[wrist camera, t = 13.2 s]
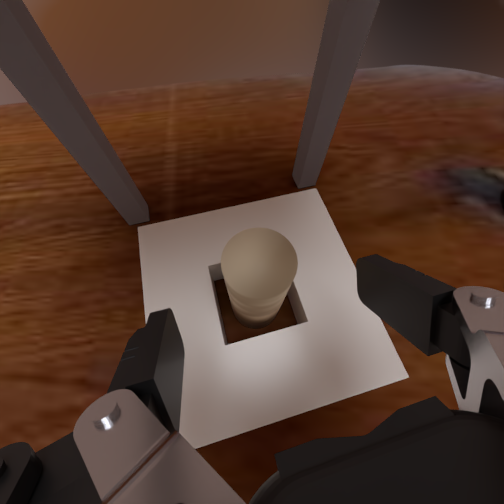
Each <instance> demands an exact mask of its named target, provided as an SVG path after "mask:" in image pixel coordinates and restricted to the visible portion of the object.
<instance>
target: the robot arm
mask: <svg viewBox="0 0 504 504" xmlns="http://www.w3.org/2000/svg"><path fill="white" fill-rule="evenodd" d="M356 272H357V293H358V296H359V298H360V300H361V302H362V303H363V304H364V305H365V306H366V307H368V308H369V309H370V310H371V311H372V312H374V313H375V314H376V315H377V316H379V317H380V318H381V319H382V320H384V321H385V322H386V323H387V324H389V325H390V326H391V327H392V328H394V329H395V330H396V331H397V332H399V333H400V334H401V335H402V336H404V337H405V338H406V339H407V340H408V341H410V342H411V343H412V344H413V345H415V346H416V347H417V348H418V349H420V350H421V351H422V352H423V353H425V354H426V355H427V356H430V355H433V354H436V353H439V352H442V351H443V352H445V353H446V360H445V361H446V366H447V369H448V373H449V376H450V379H451V383H452V386H453V389H454V393H455V396H456V400H457V403H458V406H459V410H449V409H448V408H447V407H446V406H445V405H444V404H443V403H442V402H441V401H440V400H439V399H438V398H437V397H436V396H434V397H431V398H428V399H426V400H423V401H420V402H417V403H415V404H412V405H409V406H406V407H403V408H401V409H398V410H397V411H396V412H395V413H393V414H392V415H391V416H390V417H388V418H387V419H386V420H385V421H384V422H382V423H381V424H380V425H379V426H378V427H376V428H375V429H374V430H373V431H371V432H370V433H369V434H367V435H364V436H354V437H338V438H322V439H315V440H312V441H309V442H307V443H304V444H301V445H298V446H296V447H293V448H290V449H287V450H284V451H282V452H279V453H276V454H274V455H275V459H276V463H277V468H278V471H277V472H276V473H274V474H273V475H272V476H271V477H269V478H268V479H267V481H266V482H265V483H264V484H263V485H262V486H261V487H260V488H259V489H258V491H257V492H256V493H255V495H254V496H253V497H252V499H251V500H250V502H249V504H504V293H503V292H501V291H498V290H495V289H491V288H486V287H478V286H466V287H461V288H458V289H456V288H454V287H452V286H450V285H447V284H445V283H443V282H441V281H439V280H436V279H434V278H432V277H430V276H428V275H426V276H425V274H423V273H421V272H419V271H415V269H412V268H410V267H408V266H406V265H403V264H398V263H394V262H392V261H390V260H388V259H386V258H384V257H382V256H379V255H377V254H374V255H370V256H367V257H363V258H359V259H358V260H357V263H356ZM184 358H185V351H184V345H183V340H182V337H181V334H180V331H179V329H178V326H177V323H176V320H175V317H174V314H173V311H172V309H171V308H167V309H163V310H159V311H155V312H151V313H150V314H149V317H148V320H147V323H146V326H145V328H141V329H138V330H137V331H136V332H135V333H134V334H133V336H132V337H131V338H130V339H129V341H128V343H127V345H126V348H125V352H124V353H123V355H122V358H121V361H120V362H119V365H118V367H117V370H116V372H115V375H114V377H113V379H112V382H111V384H110V387H109V389H108V392H107V394H106V395H104V396H102V397H100V398H99V399H97V400H96V401H95V402H94V403H92V404H91V405H90V406H89V407H88V408H87V409H86V410H85V411H84V412H83V413H82V415H81V416H80V417H79V419H78V421H77V423H76V425H75V427H74V431H73V432H72V433H70V434H68V435H66V436H65V437H63V438H61V439H59V440H58V441H56V442H54V443H52V444H50V445H49V446H47V447H45V448H43V449H41V450H40V451H38V452H36V453H35V452H34V450H33V449H32V448H31V446H30V445H29V444H28V443H25V442H18V443H14V444H10V445H8V446H5V447H3V448H1V449H0V504H246V503H245V502H244V501H243V500H242V499H241V498H240V497H239V496H238V495H237V494H236V492H235V491H234V490H233V489H232V488H231V487H230V486H229V485H228V484H227V483H226V482H225V481H224V480H223V479H222V478H221V477H220V475H219V474H218V473H217V472H216V471H215V470H214V469H213V468H212V467H211V466H210V465H209V464H208V463H207V462H206V461H205V460H204V458H203V457H202V456H201V455H200V454H199V453H198V452H197V451H196V450H195V449H194V448H193V447H192V446H191V445H190V444H189V443H188V441H187V440H186V439H185V438H184V437H183V436H182V435H181V434H180V433H179V427H180V413H181V399H182V386H183V372H184Z"/></svg>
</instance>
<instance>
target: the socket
mask: <svg viewBox="0 0 504 504" xmlns="http://www.w3.org/2000/svg"><path fill="white" fill-rule="evenodd" d="M250 228H268V229H271V230H274V231H276V232H278V233H280V234H282V235H283V236H284V237H286V238H287V239H288V240H289V241H290V243H291V244H292V246H293V247H294V249H295V251H296V254H297V259H298V268H297V273H296V275H295V278H294V280H293V282H292V284H291V286H290V288H289V290H288V292H287V295H288V298H289V301H290V304H291V307H292V309H293V312H294V315H295V318H296V321H297V324H298V325H295V326H291V327H288V328H284V329H281V330H277V331H274V332H270V333H267V334H263V335H260V336H256V337H253V338H249V339H246V340H242V341H239V342H235V343H232V344H229V345H228V343H227V339H226V334H225V330H224V325H223V320H222V316H221V311H220V307H219V302H218V297H217V293H216V288H215V284H214V281H216V280H220V279H224V276H223V273H222V269H221V256H222V252H223V249H224V247H225V246H226V244H227V243H228V241H229V240H230V239H231V238H232V237H233V236H235V235H236V234H237V233H239V232H241V231H243V230H246V229H250ZM138 238H139V250H140V261H141V273H142V285H143V296H144V308H145V320H146V323H147V320H148V317H149V314H150V313H151V312H155V311H159V310H163V309H167V308H171V309H172V311H173V314H174V317H175V320H176V323H177V326H178V329H179V331H180V334H181V337H182V340H183V345H184V351H185V358H184V372H183V386H182V399H181V413H180V427H179V433H180V434H181V435H182V436H183V437H184V438H185V439H186V440H187V441H188V443H189V444H190V445H191V446H192V447H193V448H194V449H197V448H200V447H203V446H206V445H209V444H211V443H214V442H217V441H220V440H223V439H226V438H229V437H232V436H235V435H238V434H241V433H244V432H247V431H250V430H253V429H256V428H259V427H262V426H265V425H268V424H271V423H274V422H277V421H280V420H283V419H286V418H289V417H292V416H295V415H298V414H301V413H304V412H307V411H310V410H313V409H316V408H319V407H322V406H325V405H328V404H331V403H334V402H337V401H340V400H343V399H346V398H349V397H352V396H355V395H358V394H361V393H364V392H367V391H370V390H373V389H376V388H379V387H382V386H385V385H388V384H391V383H394V382H397V381H400V380H403V379H406V378H408V377H409V376H408V374H407V372H406V370H405V368H404V366H403V364H402V362H401V360H400V358H399V356H398V354H397V352H396V350H395V348H394V346H393V344H392V341H391V339H390V337H389V335H388V333H387V331H386V329H385V327H384V325H383V323H382V321H381V319H380V317H379V316H377V315H376V314H375V313H374V312H372V311H371V310H370V309H369V308H368V307H366V306H365V305H364V304H363V303H362V302H361V300H360V298H359V296H358V293H357V272H356V268H355V266H354V264H353V262H352V260H351V258H350V256H349V254H348V252H347V250H346V248H345V246H344V244H343V242H342V240H341V238H340V236H339V234H338V232H337V230H336V227H335V225H334V223H333V221H332V219H331V217H330V215H329V213H328V211H327V209H326V207H325V205H324V203H323V201H322V199H321V197H320V195H319V193H318V191H317V189H316V188H315V189H310V190H305V191H301V192H296V193H292V194H287V195H282V196H278V197H273V198H269V199H264V200H260V201H255V202H250V203H246V204H241V205H237V206H232V207H227V208H223V209H218V210H214V211H209V212H205V213H200V214H195V215H191V216H186V217H182V218H177V219H172V220H168V221H163V222H159V223H154V224H150V225H145V226H140V227H138Z"/></svg>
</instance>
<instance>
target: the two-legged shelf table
mask: <svg viewBox="0 0 504 504" xmlns="http://www.w3.org/2000/svg"><path fill="white" fill-rule="evenodd" d="M379 2H380V0H330V1H329V6H328V10H327V15H326V20H325V24H324V29H323V34H322V39H321V43H320V48H319V53H318V57H317V62H316V67H315V71H314V76H313V80H312V85H311V90H310V94H309V99H308V103H307V108H306V113H305V117H304V122H303V127H302V131H301V136H300V141H299V145H298V150H297V155H296V159H295V164H294V169H293V173H292V176H293V178H294V181H295V183H296V185H297V187H298V189H299V188H304V187H308V186H313V185H315V184H316V181H317V179H318V176H319V173H320V170H321V167H322V164H323V161H324V159H325V156H326V153H327V150H328V147H329V144H330V141H331V139H332V136H333V133H334V130H335V127H336V124H337V121H338V119H339V116H340V113H341V110H342V107H343V104H344V102H345V99H346V96H347V93H348V90H349V87H350V84H351V82H352V79H353V76H354V73H355V70H356V67H357V64H358V61H359V59H360V56H361V53H362V50H363V47H364V44H365V42H366V39H367V36H368V33H369V30H370V27H371V24H372V22H373V19H374V16H375V13H376V10H377V7H378V4H379ZM0 68H1V70H2V71H3V72H4V74H5V75H6V76H7V77H8V78H9V80H10V81H11V82H12V83H13V84H14V86H15V87H16V88H17V89H18V91H19V92H20V93H21V94H22V95H23V97H24V98H25V99H26V100H27V101H28V103H29V104H30V105H31V106H32V108H33V109H34V110H35V111H36V112H37V114H38V115H39V116H40V117H41V118H42V120H43V121H44V122H45V123H46V125H47V126H48V127H49V128H50V129H51V131H52V132H53V133H54V134H55V135H56V137H57V138H58V139H59V140H60V142H61V143H62V144H63V145H64V146H65V148H66V149H67V150H68V151H69V152H70V154H71V155H72V156H73V157H74V159H75V160H76V161H77V162H78V163H79V165H80V166H81V167H82V168H83V169H84V171H85V172H86V173H87V174H88V176H89V177H90V178H91V179H92V180H93V182H94V183H95V184H96V185H97V186H98V188H99V189H100V190H101V191H102V193H103V194H104V195H105V196H106V197H107V199H108V200H109V201H110V202H111V203H112V205H113V206H114V207H115V208H116V210H117V211H118V212H119V213H120V214H121V216H122V217H123V218H124V219H125V220H126V222H127V223H128V224H129V225H133V224H137V223H142V222H147V221H150V220H149V211H148V205H147V203H146V201H145V200H144V198H143V196H142V195H141V193H140V192H139V190H138V188H137V187H136V185H135V183H134V182H133V180H132V179H131V177H130V175H129V174H128V172H127V170H126V169H125V167H124V166H123V164H122V162H121V161H120V159H119V157H118V156H117V154H116V152H115V151H114V149H113V148H112V146H111V144H110V143H109V141H108V139H107V138H106V136H105V135H104V133H103V131H102V130H101V128H100V126H99V125H98V123H97V122H96V120H95V118H94V117H93V115H92V113H91V112H90V110H89V108H88V107H87V105H86V104H85V102H84V100H83V99H82V97H81V95H80V94H79V92H78V91H77V89H76V87H75V86H74V84H73V82H72V81H71V79H70V78H69V76H68V74H67V73H66V71H65V69H64V68H63V66H62V65H61V63H60V61H59V60H58V58H57V56H56V55H55V53H54V51H53V50H52V48H51V47H50V45H49V43H48V42H47V40H46V38H45V37H44V35H43V34H42V32H41V30H40V29H39V27H38V25H37V24H36V22H35V21H34V19H33V17H32V16H31V14H30V12H29V11H28V9H27V8H26V6H25V4H24V3H23V1H22V0H0Z"/></svg>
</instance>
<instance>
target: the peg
mask: <svg viewBox="0 0 504 504" xmlns="http://www.w3.org/2000/svg"><path fill="white" fill-rule="evenodd" d="M297 268H298V259H297V254H296V251H295V249H294V247H293V246H292V244H291V243H290V241H289V240H288V239H287V238H286V237H284V236H283V235H282V234H280V233H278V232H276V231H274V230H271V229H268V228H250V229H246V230H243V231H241V232H239V233H237V234H236V235H235V236H233V237H232V238H231V239H230V240H229V241H228V243H227V244H226V246H225V247H224V249H223V252H222V256H221V269H222V273H223V276H224V280H225V284H226V287H227V291H228V295H229V298H230V302H231V306H232V309H233V313H234V315H235V317H236V319H237V320H238V321H239V322H240V323H241V324H242V325H244V326H246V327H248V328H253V329H258V328H263V327H265V326H267V325H269V324H270V323H271V322H272V321H273V320H274V319H275V317H276V315H277V313H278V311H279V309H280V307H281V305H282V303H283V301H284V299H285V297H286V294H287V292H288V290H289V288H290V286H291V284H292V282H293V280H294V278H295V275H296V273H297Z"/></svg>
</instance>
